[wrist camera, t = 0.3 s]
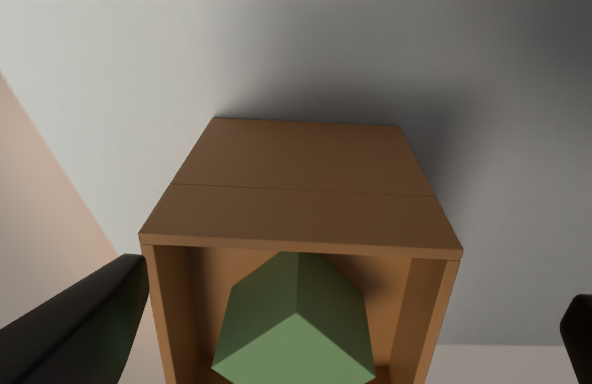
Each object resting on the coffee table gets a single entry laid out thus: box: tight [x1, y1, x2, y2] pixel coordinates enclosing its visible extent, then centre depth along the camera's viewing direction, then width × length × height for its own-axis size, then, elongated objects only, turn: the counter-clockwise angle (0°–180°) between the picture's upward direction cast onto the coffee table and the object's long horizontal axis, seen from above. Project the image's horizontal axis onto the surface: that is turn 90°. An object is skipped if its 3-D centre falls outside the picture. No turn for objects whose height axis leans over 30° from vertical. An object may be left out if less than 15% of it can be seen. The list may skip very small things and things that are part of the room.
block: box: [212, 251, 376, 384], centre depth 15 cm, size 4×4×4 cm
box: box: [138, 118, 464, 384], centre depth 18 cm, size 9×9×10 cm
